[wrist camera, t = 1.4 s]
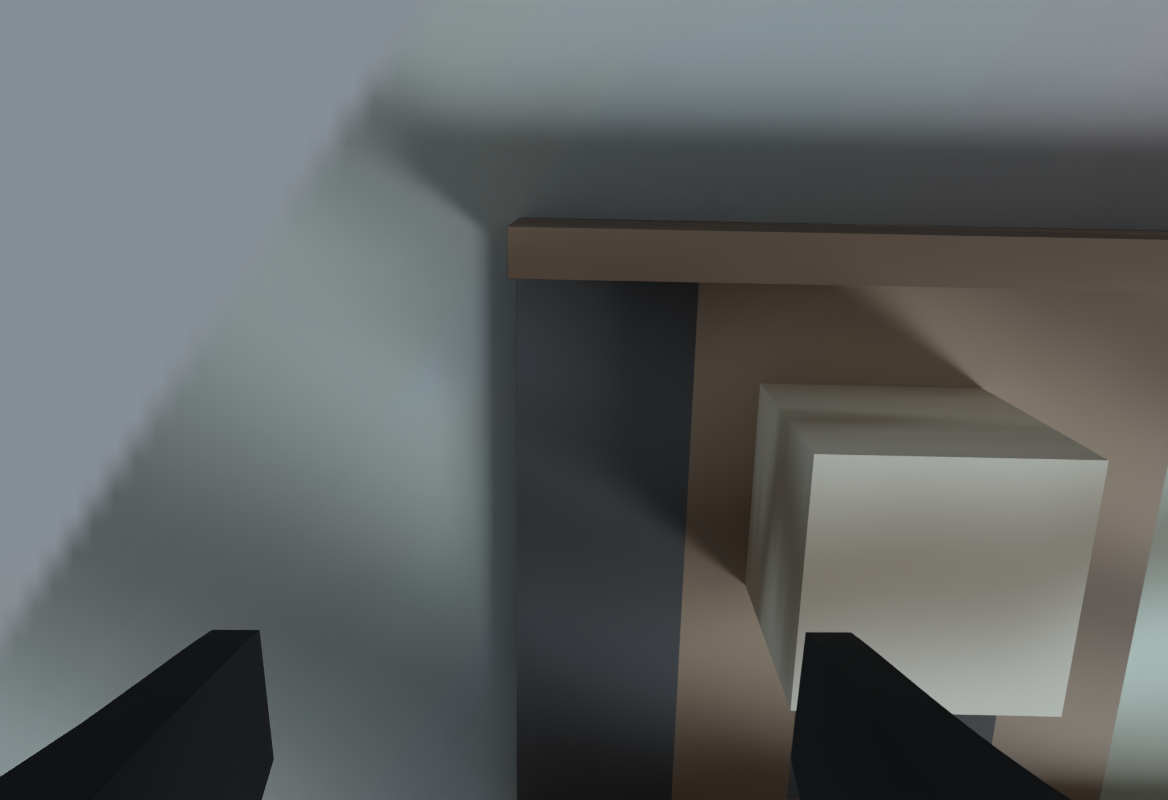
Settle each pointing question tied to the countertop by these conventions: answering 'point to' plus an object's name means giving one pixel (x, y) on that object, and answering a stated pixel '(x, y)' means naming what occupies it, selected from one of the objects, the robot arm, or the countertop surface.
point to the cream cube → (923, 538)
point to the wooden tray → (726, 465)
